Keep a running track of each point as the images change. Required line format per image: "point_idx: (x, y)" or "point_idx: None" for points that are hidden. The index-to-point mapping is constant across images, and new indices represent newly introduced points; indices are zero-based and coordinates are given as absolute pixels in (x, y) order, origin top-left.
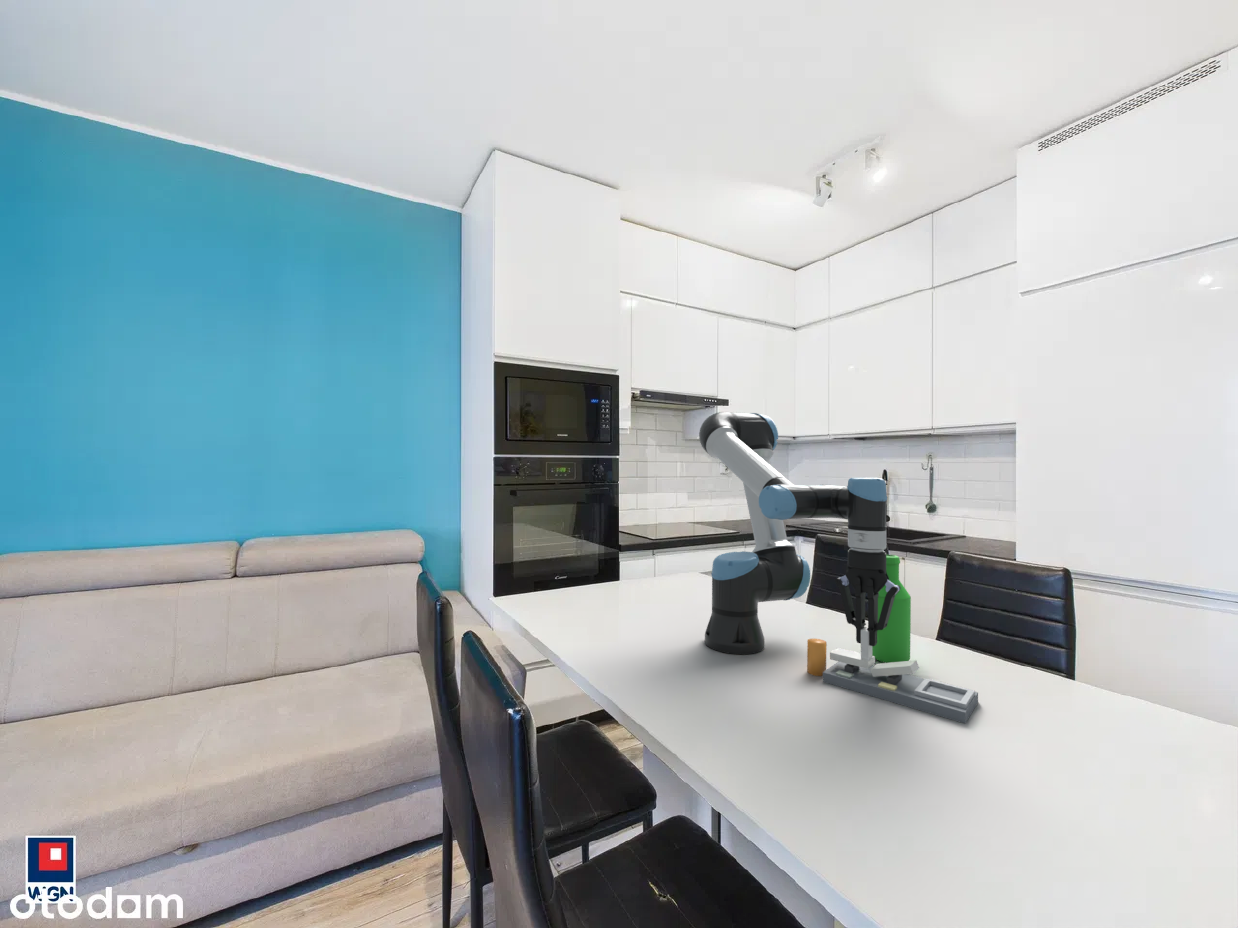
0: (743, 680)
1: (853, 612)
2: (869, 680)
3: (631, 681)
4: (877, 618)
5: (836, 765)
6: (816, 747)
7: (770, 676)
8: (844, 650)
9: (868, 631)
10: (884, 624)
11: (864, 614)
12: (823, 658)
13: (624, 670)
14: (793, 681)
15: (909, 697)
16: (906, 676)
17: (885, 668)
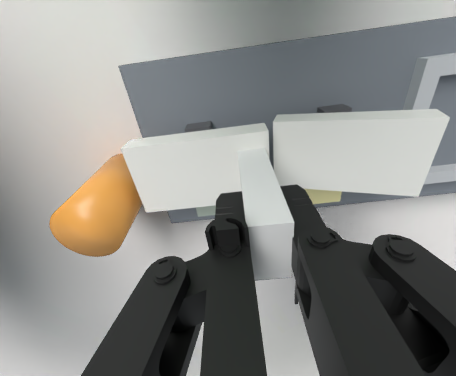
0: (101, 294)
1: (159, 341)
2: None
3: (50, 364)
4: (375, 305)
5: (309, 346)
6: (282, 339)
7: (104, 258)
8: (159, 160)
9: (291, 271)
10: (422, 323)
11: (261, 334)
12: (139, 208)
13: (9, 357)
14: (144, 246)
15: (371, 200)
16: (353, 61)
17: (322, 188)
